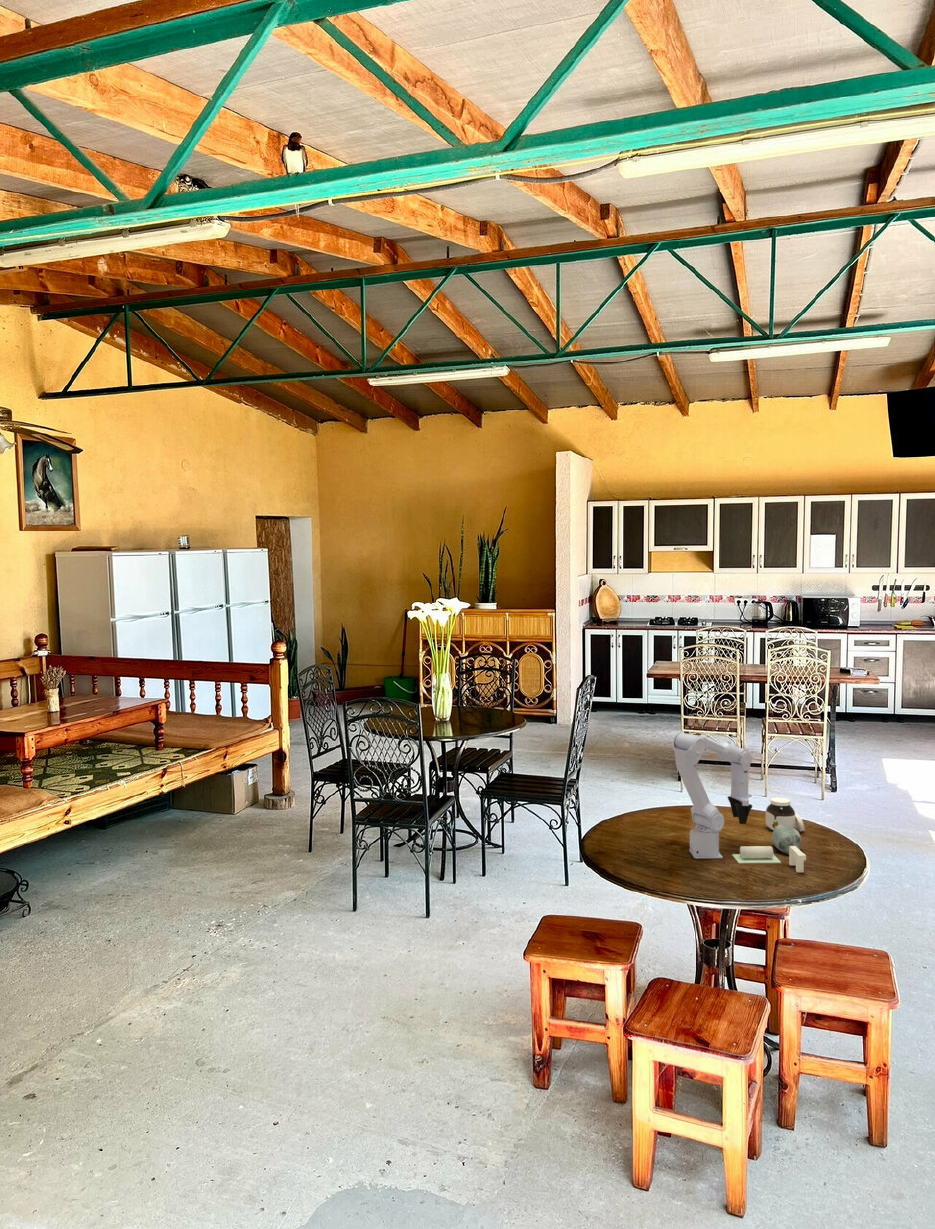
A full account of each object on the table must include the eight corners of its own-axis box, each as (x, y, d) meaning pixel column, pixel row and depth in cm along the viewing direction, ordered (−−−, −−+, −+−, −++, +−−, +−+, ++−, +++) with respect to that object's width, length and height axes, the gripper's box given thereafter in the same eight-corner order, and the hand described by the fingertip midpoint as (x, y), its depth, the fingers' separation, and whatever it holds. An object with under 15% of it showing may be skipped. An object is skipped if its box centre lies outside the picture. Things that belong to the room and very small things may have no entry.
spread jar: (762, 828, 324) (762, 798, 323) (783, 823, 329) (784, 793, 328) (787, 837, 313) (788, 806, 312) (809, 832, 318) (810, 801, 317)
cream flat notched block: (798, 874, 277) (798, 855, 276) (788, 864, 286) (788, 846, 285) (805, 874, 277) (806, 855, 276) (795, 864, 286) (796, 846, 285)
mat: (738, 863, 288) (738, 862, 288) (731, 855, 296) (731, 854, 296) (781, 863, 288) (781, 862, 288) (773, 854, 296) (773, 853, 296)
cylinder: (743, 860, 290) (743, 848, 290) (739, 856, 294) (739, 844, 294) (773, 860, 290) (773, 848, 289) (769, 856, 294) (769, 844, 293)
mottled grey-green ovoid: (809, 849, 291) (794, 821, 294) (783, 861, 293) (768, 833, 295) (804, 845, 304) (790, 819, 307) (779, 857, 306) (765, 830, 308)
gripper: (757, 787, 295) (757, 826, 296) (745, 776, 310) (744, 814, 311) (736, 787, 296) (736, 826, 297) (725, 776, 310) (725, 814, 311)
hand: (739, 820), depth 304 cm, fingers open, 7 cm apart
